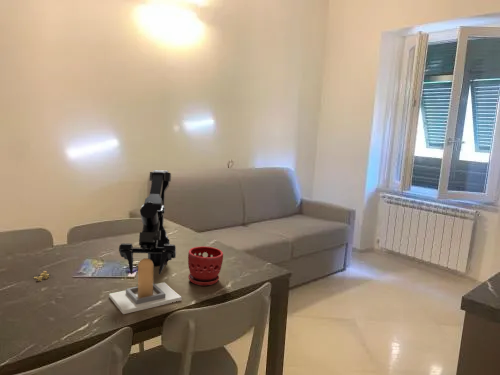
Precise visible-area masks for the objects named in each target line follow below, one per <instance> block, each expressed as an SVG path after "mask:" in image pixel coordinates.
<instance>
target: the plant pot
mask: <svg viewBox="0 0 500 375" xmlns="http://www.w3.org/2000/svg"><path fill="white" fill-rule="evenodd" d="M204 253H206V254H207V256H206V257H205V256H203V254H204ZM187 255H188V256H187V265H188V270H189V274H188V280H189V281H190V282H191V283H192V284H195V285H197V286H203V287H204V286H211V285H215V284H216V283H217V282H218V281H219V279H220V276H219V274H220V272H221V270H222V266H223V260H224V252H223V251H222V250H221V249H220V248H216V247H212V246H195V247H192V248H190V249H189V250H188V254H187Z"/></svg>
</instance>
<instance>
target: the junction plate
mask: <svg viewBox="0 0 500 375" xmlns="http://www.w3.org/2000/svg"><path fill="white" fill-rule="evenodd" d="M108 295H109V299H110V300H111V301H112V302H113V303H114V305H115V306H116V308H117V309H118V310H119V311H120V312H121V313H122V315H125V314H129V313H134V312H138V311H143V310H147V309H151V308H156V307H159V306H163V305H164V306H165V305H169V304H172V302H173V303H176V301H177V302H180V301H182V296H181V295H180V294H178V293H177V292H176V291H175V290H174V289H172V288H171V287H170V286H169V285H168V284H167V283H166V282H160V283H154V282H153V295H151V296H147V297H142V298H139V297H138V285H137V286H133V287H128V288H125V290H122V291H121V290H120V291H116V292H112V293H111V292H110V293H109V294H108Z"/></svg>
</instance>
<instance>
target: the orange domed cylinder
mask: <svg viewBox="0 0 500 375" xmlns="http://www.w3.org/2000/svg"><path fill="white" fill-rule="evenodd" d="M154 267H155V266H154V265H153V262H152V260H150V259H148V257H146V258H142V259H141V260H139V262H138V264H137V286H138V297H139V298H142V297H147V296H151V295H153V283H154V269H155V268H154Z"/></svg>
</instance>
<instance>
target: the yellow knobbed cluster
mask: <svg viewBox="0 0 500 375" xmlns="http://www.w3.org/2000/svg"><path fill="white" fill-rule="evenodd" d="M47 272H48V271H47V270H46V271H45V270H44V271H42V273H40V276H34V277H33V279H35V280H36V279H37V281H38V282H42V281H43V278H44V280H45V279H47V280H48V279H50V274H49V273H47Z"/></svg>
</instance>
